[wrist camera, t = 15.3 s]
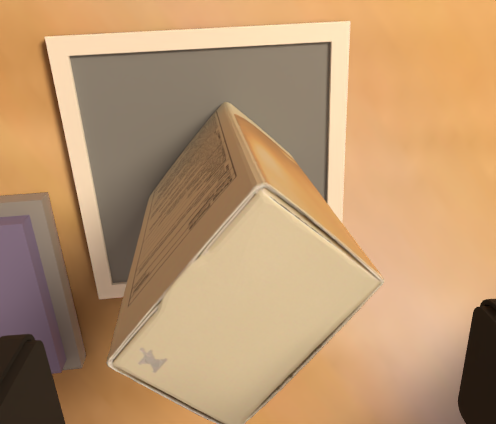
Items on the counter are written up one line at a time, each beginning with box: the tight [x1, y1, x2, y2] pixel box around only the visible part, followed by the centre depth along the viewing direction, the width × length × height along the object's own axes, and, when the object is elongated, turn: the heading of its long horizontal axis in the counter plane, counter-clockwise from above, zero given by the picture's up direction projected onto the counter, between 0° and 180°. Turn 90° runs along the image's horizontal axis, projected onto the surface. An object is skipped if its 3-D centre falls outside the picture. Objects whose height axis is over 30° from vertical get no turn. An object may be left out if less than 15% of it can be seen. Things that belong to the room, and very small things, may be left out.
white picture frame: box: [45, 21, 350, 299], centre depth 22 cm, size 13×13×1 cm
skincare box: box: [107, 102, 384, 424], centre depth 17 cm, size 6×4×12 cm
